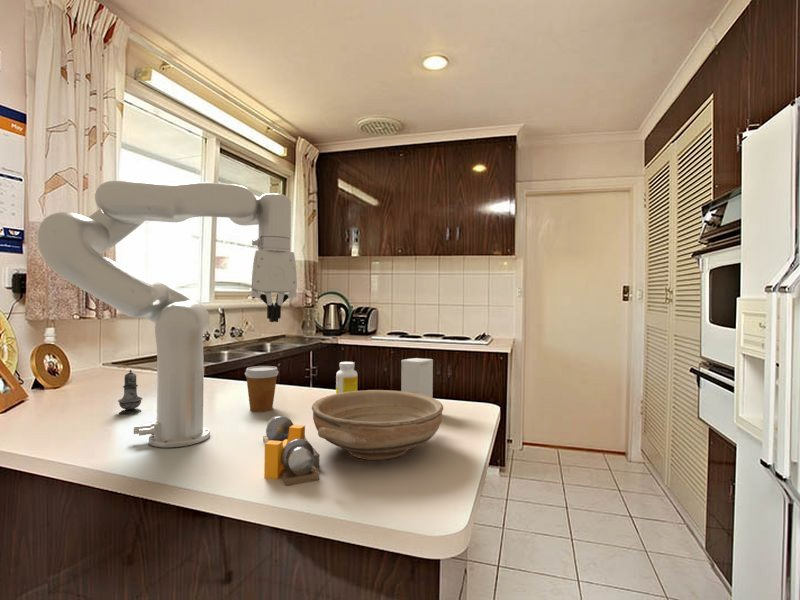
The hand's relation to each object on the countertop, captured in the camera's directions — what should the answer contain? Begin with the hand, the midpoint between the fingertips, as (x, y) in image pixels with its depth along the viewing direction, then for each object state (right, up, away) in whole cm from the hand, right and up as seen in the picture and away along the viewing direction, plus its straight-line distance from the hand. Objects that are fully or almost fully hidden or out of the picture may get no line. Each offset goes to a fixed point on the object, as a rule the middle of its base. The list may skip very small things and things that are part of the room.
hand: (273, 321), depth 104 cm
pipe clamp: (+7, -28, -20) cm, 35 cm away
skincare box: (+35, -28, +20) cm, 49 cm away
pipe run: (+8, -27, -16) cm, 33 cm away
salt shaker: (-45, -27, +17) cm, 55 cm away
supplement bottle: (+14, -27, +30) cm, 43 cm away
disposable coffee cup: (-10, -27, +22) cm, 36 cm away
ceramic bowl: (+26, -28, -10) cm, 39 cm away
